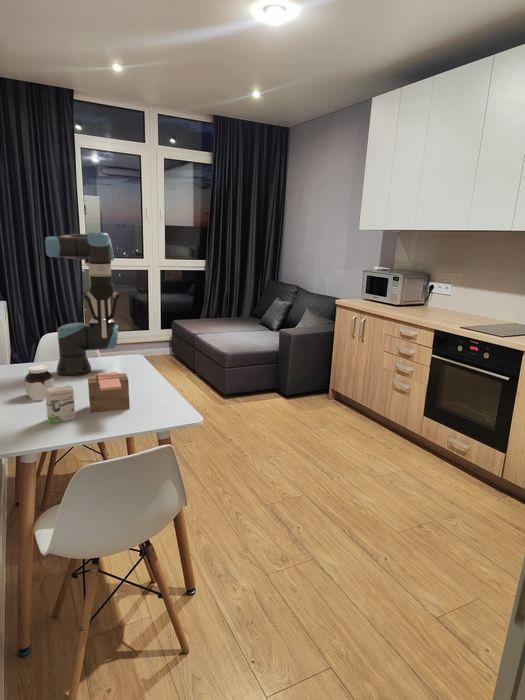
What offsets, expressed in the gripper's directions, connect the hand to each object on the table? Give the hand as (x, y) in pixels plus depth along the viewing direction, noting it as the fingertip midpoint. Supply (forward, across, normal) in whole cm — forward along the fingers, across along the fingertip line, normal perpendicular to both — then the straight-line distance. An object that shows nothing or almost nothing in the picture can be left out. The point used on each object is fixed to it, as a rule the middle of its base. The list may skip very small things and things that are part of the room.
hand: (104, 337), depth 168 cm
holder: (+26, 0, -7) cm, 27 cm away
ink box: (+27, -17, -13) cm, 34 cm away
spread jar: (+27, -25, +14) cm, 39 cm away
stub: (+14, 0, -16) cm, 22 cm away
